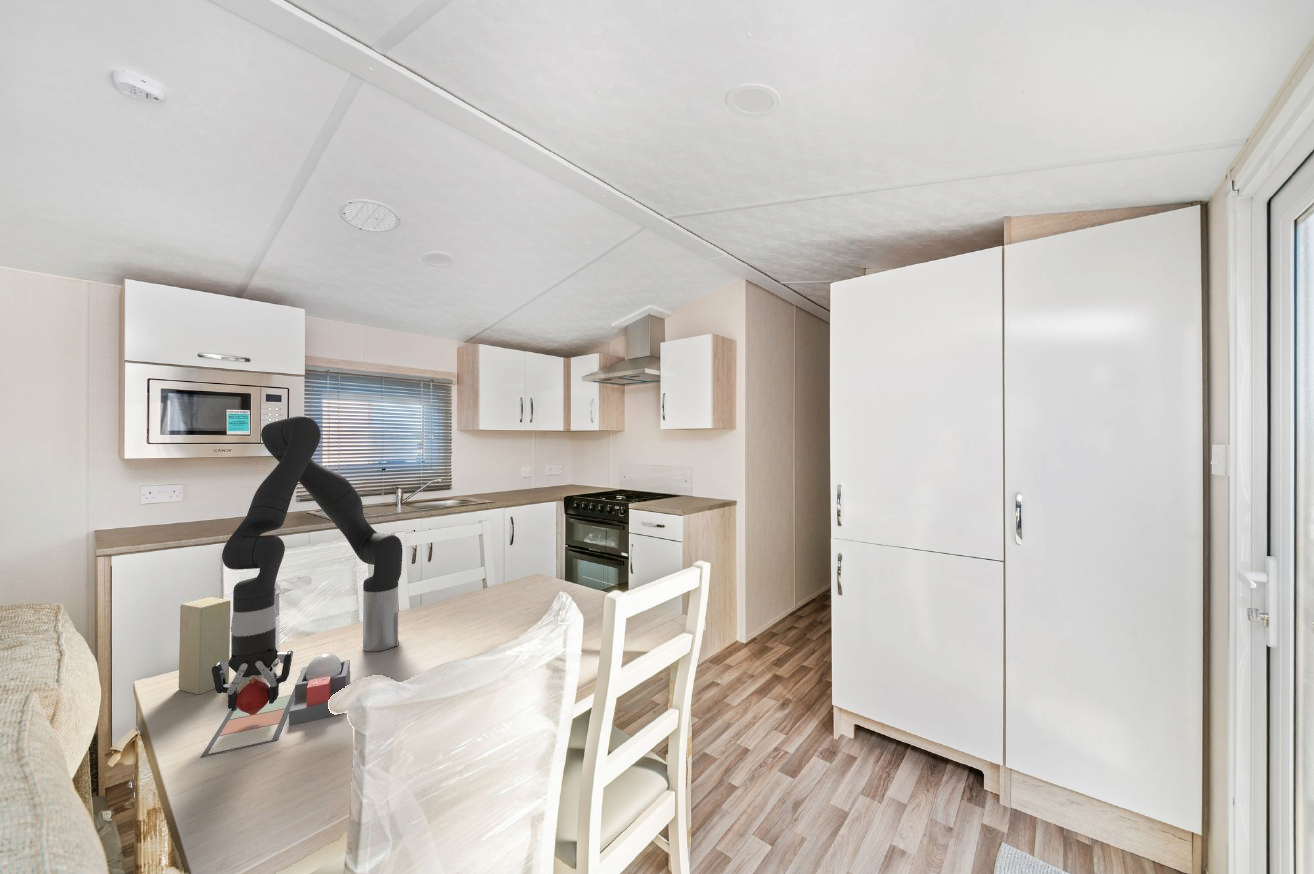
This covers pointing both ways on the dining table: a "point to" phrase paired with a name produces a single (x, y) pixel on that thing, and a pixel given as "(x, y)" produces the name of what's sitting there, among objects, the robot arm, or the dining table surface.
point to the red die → (318, 690)
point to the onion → (253, 696)
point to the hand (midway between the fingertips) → (253, 705)
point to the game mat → (252, 725)
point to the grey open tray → (317, 711)
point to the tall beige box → (203, 642)
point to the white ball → (323, 667)
